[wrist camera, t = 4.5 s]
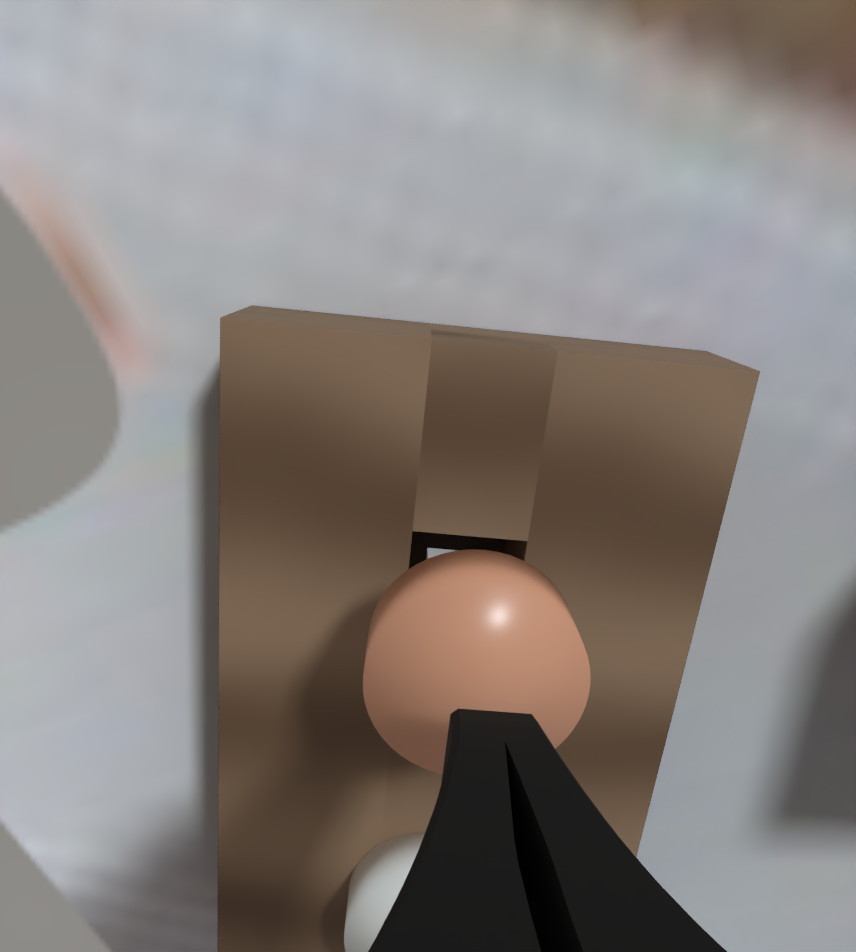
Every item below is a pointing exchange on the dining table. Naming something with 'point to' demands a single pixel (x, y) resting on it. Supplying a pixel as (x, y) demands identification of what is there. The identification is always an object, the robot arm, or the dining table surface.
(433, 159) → the dining table surface
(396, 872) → the white egg
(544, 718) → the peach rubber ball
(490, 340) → the board
